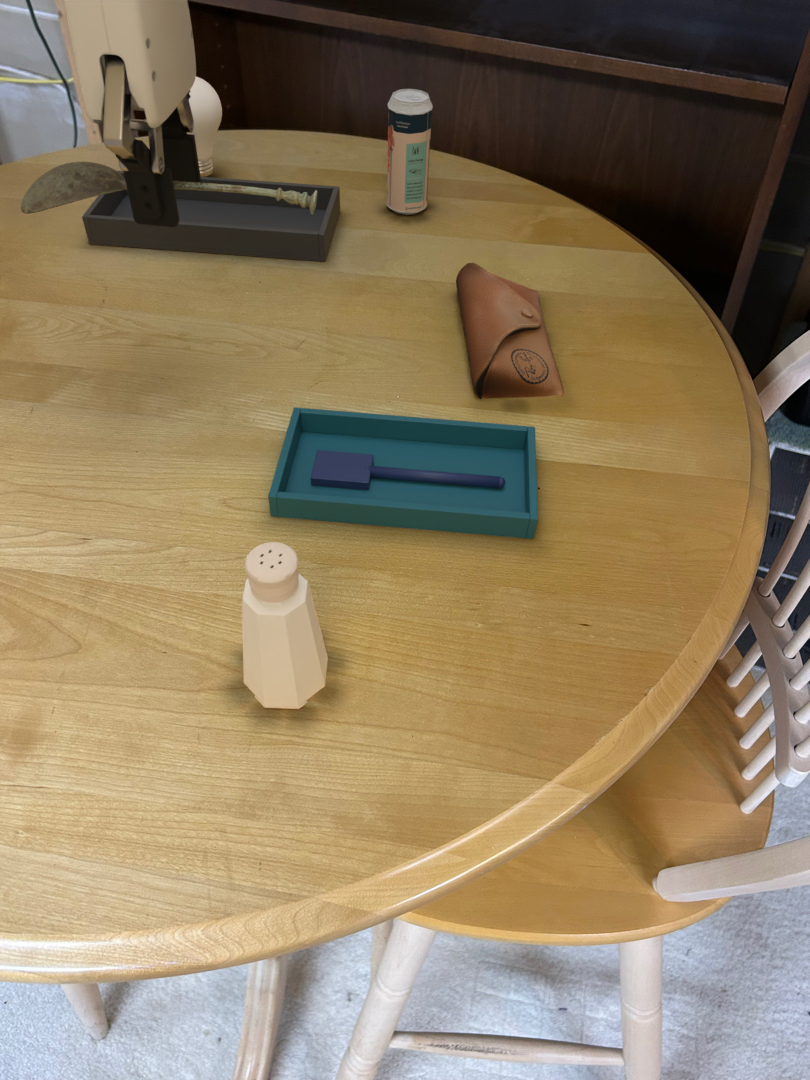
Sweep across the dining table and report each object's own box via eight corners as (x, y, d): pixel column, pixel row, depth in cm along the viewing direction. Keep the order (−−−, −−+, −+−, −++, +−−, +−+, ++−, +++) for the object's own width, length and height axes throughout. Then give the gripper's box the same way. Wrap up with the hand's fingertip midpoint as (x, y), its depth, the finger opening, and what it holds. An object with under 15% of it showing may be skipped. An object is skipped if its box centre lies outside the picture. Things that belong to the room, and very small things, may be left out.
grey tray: (89, 244, 85) (81, 216, 83) (123, 196, 93) (117, 170, 90) (325, 261, 84) (323, 234, 82) (340, 212, 92) (339, 186, 89)
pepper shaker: (226, 692, 49) (197, 578, 41) (271, 627, 52) (253, 509, 44) (304, 726, 48) (291, 614, 40) (345, 656, 51) (341, 540, 43)
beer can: (401, 194, 95) (405, 83, 86) (435, 206, 93) (442, 94, 85) (377, 208, 93) (378, 96, 84) (411, 221, 91) (416, 107, 82)
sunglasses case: (572, 398, 69) (543, 341, 65) (497, 431, 71) (464, 378, 67) (537, 287, 81) (511, 233, 77) (474, 319, 83) (445, 268, 79)
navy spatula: (310, 485, 61) (310, 476, 60) (317, 457, 63) (317, 448, 62) (504, 501, 60) (505, 493, 60) (504, 473, 62) (506, 464, 62)
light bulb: (210, 160, 100) (196, 62, 92) (241, 179, 97) (229, 79, 88) (163, 175, 97) (144, 74, 88) (193, 194, 93) (177, 92, 85)
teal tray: (271, 520, 59) (267, 496, 57) (295, 431, 66) (293, 406, 64) (533, 543, 58) (538, 519, 56) (530, 450, 65) (535, 426, 63)
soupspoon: (41, 190, 63) (14, 234, 59) (25, 146, 60) (-4, 190, 56) (321, 192, 63) (314, 237, 59) (318, 148, 60) (310, 192, 56)
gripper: (103, -132, 52) (155, 154, 66) (-15, -73, 41) (77, 258, 55) (216, -124, 52) (245, 162, 66) (129, -62, 41) (186, 268, 54)
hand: (169, 202), depth 60 cm, fingers closed on soupspoon, 5 cm apart
